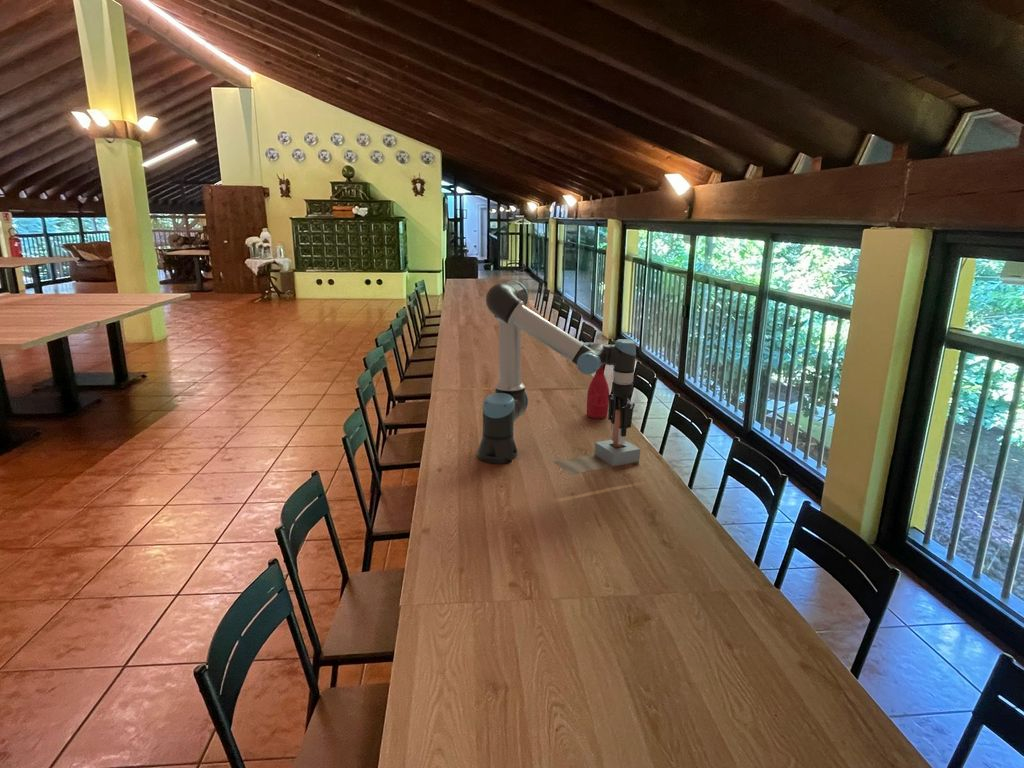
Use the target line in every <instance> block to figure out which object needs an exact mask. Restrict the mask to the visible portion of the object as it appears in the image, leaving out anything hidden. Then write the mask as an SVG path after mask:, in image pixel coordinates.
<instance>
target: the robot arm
mask: <svg viewBox="0 0 1024 768" xmlns="http://www.w3.org/2000/svg"><path fill="white" fill-rule="evenodd" d="M528 301H529V292H528V289H527V287H526V286H525V285H524V284H523V283H522V282H520V281H518V280H510V279H509V280H505V281H502V282H500V283H496V284H493V286H491V287H489V289H488V291H487V292H486V294H485V304H486V307H487V308H488V310H489V312H490V313H491V314H492V315H493V316H494V318H495V319H496V321H497V322H498V323H497V324H498V382H497V384H495V392H494V393H493V394H488V395H487V396H486V397H485V398H484V399H483V403H482V408H481V409H482V437H481V440H480V442H479V445H478V449H477V458H478V459H479V460H480V461H482V462H485V463H488V464H498V465H501V464H508V463H511V462H513V460H514V459H516V458H517V457H518V448H517V445H516V441H515V438H514V430H515V429H514V426H515V424H514V423H515V421H516V420H517V419H519V418H520V417H521V416H523V414H524V413H525V412H526V410H527V409H528V408H527V407H528V405H529V396H528V394H527V392H526V385H525V384H524V383H523V382H522V331H523V332H525V333H526V334H528V335H529V336H531V337H532V338H534V339H535V340H537V341H539V342H540V343H542V344H543V345H545V346H546V347H548V348H549V349H551V350H553V352H556V353H557V354H559V355H560V356H562V357H563V358H565V359H567V360H568V361H570V362H571V363H573V365H576V366H577V369H578V370H579V372H580V373H582V374H584V375H592V374H595V373H596V371H597V370H598V369H599V368H600V366H601V365H602V364H603V366H604V365H607V366H613V368H612V370H613V371H612V379H611V380H612V383H611V392H612V394H610V393H609V395H608V398H609V404H608V413H607V417H608V418H607V419H608V420H609V421H610V423H611V428H610V429H611V435H610V440H612V441H613V435H614V423H615V410H616V409H619V410H620V424H621V427H619V433H618V444H625V440H626V436H627V429H630V428H631V427H632V421H633V415H634V414H633V413H634V408H635V406H636V405H635V402H632V401H631V398H630V396H631V394H632V393H633V390H634V389H633V387H634V383H633V382H634V378H635V377H634V376H635V375H634V374H635V366H636V357H637V343H636V342H635V341H634V340H632V339H625V338H621V339H620V338H619V339H617V340H616V341H615V342H614V344H609V343H599V342H594V341H592V342H589V341H588V342H584V343H583V342H581V341H580V340H579V339H577V338H575V337H574V336H572V335H571V334H569V333H568V332H566V331H564V330H563V329H561V328H560V327H558V326H556V325H555V324H553V323H552V322H551V321H548V320H547V319H546V318H544V317H542V316H541V315H540V314H538V313H536V312H535V311H533V310H532V309H530V308H529V307H527V306H526V305H527V304H528Z"/></svg>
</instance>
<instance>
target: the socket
mask: <svg viewBox="0 0 1024 768" xmlns="http://www.w3.org/2000/svg"><path fill="white" fill-rule="evenodd" d="M593 455H596V456H598V457H599V458H601V459H602V460H604V461H605V462H607V463H608V464H610V465H611V466H613V467H618V466H622V465H627V464H631V463H633V462H638V461H639V462H640V456H641V448H639V447H638V446H636V445H634V444H633V443H630V442H629V441H627V440H626V439H625V444H622V448H618V449H615V448H614V447H613V441H612V440H611V439H606V440H603V441H596V442H595V443H594V454H593ZM617 465H618V466H617Z"/></svg>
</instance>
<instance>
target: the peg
mask: <svg viewBox="0 0 1024 768" xmlns="http://www.w3.org/2000/svg"><path fill="white" fill-rule="evenodd" d="M619 427H621V424H620V410H619V409H616V410H615V423H614V435H613V447H614V448H615V449H618V448H622V444H618V433H619Z"/></svg>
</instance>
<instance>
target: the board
mask: <svg viewBox="0 0 1024 768" xmlns="http://www.w3.org/2000/svg"><path fill="white" fill-rule="evenodd" d="M554 464H556V465H557V466H558V467H560V468H561V469H562V470H564V471H565V472H567V473H568V474H569V475H576V474H582V473H585V472H591V471H596V470H602V469H607V468H612V467H614V466H611V465H610V464H608V463H607V462H605V461H604V460H602V459H601V458H599V457H598V456H596V455H594V454H590V455H583V456H578V457H574V458H567V459H562V460H556V461H554ZM630 464H631V465H632V466H635V465H639V464H640V460H639V461H638V462H633V463H630ZM618 466H619V465H617V466H616V467H618Z"/></svg>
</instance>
